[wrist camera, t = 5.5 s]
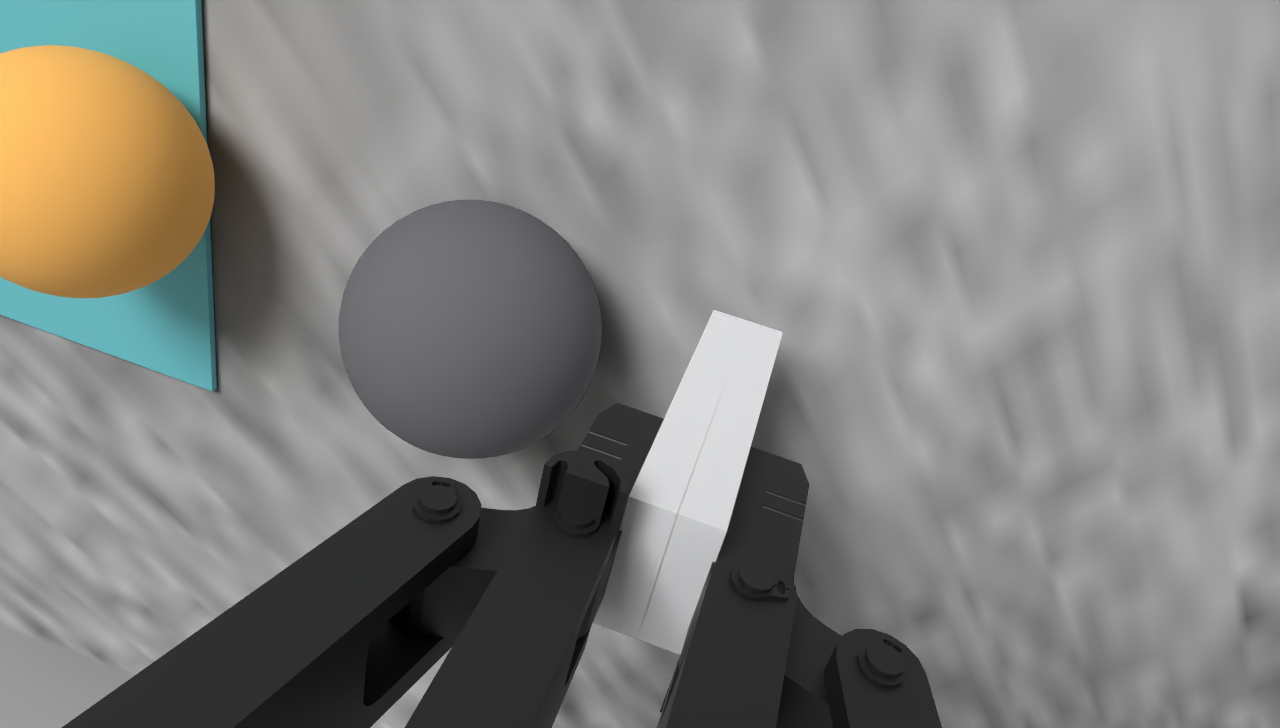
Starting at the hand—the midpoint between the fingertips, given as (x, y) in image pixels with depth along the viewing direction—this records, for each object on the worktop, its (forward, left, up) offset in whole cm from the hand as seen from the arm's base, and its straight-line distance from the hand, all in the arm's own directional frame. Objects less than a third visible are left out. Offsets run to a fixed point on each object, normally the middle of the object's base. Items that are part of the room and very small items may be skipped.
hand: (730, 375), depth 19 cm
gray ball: (+6, 0, +1) cm, 6 cm away
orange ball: (+15, 0, +1) cm, 15 cm away
